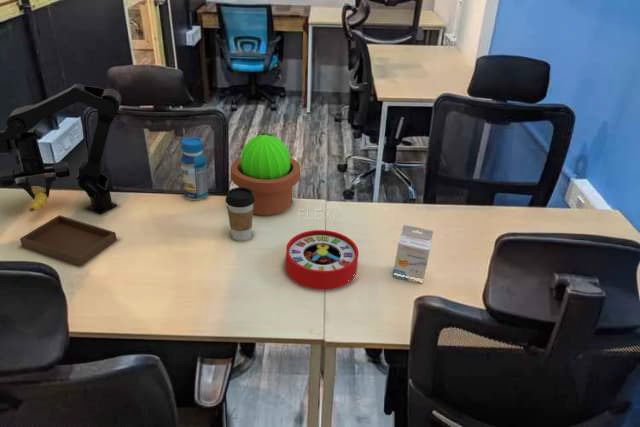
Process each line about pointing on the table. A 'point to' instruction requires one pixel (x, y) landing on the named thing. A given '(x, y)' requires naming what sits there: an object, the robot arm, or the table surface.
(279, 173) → the potted cactus
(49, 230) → the tray
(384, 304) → the table surface
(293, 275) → the toy clock
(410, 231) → the ink box
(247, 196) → the coffee cup
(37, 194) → the banana
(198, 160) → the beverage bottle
